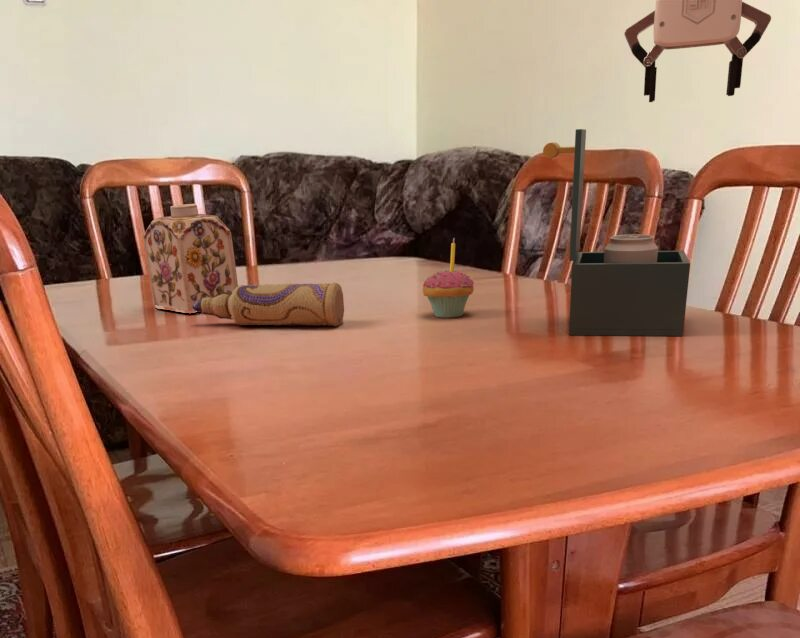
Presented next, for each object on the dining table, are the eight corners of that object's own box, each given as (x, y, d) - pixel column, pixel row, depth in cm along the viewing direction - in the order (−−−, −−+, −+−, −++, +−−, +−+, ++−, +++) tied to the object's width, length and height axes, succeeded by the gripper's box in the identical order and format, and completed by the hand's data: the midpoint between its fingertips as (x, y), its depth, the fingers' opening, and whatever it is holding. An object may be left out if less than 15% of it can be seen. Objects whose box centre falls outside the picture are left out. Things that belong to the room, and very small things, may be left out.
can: (592, 322, 123) (597, 237, 118) (611, 313, 128) (616, 232, 123) (641, 326, 119) (648, 238, 114) (659, 317, 125) (666, 233, 119)
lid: (586, 129, 120) (549, 131, 122) (581, 129, 108) (541, 130, 110) (579, 248, 128) (545, 249, 129) (575, 261, 115) (536, 261, 117)
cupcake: (438, 309, 143) (437, 236, 138) (483, 312, 139) (483, 236, 134) (414, 318, 136) (411, 242, 131) (460, 321, 132) (459, 243, 127)
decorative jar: (242, 305, 155) (229, 202, 147) (190, 316, 147) (174, 207, 140) (204, 300, 162) (190, 201, 155) (152, 309, 155) (135, 206, 147)
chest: (677, 317, 128) (684, 250, 124) (682, 336, 116) (690, 263, 112) (573, 316, 132) (576, 252, 128) (568, 335, 120) (571, 264, 116)
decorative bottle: (348, 320, 137) (346, 279, 134) (334, 330, 130) (331, 287, 127) (206, 319, 143) (201, 279, 140) (186, 329, 136) (180, 287, 134)
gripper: (627, -58, 98) (620, 103, 106) (785, -78, 94) (766, 91, 101) (628, -47, 105) (621, 105, 112) (775, -65, 100) (758, 94, 108)
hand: (690, 98), depth 107 cm, fingers open, 9 cm apart
